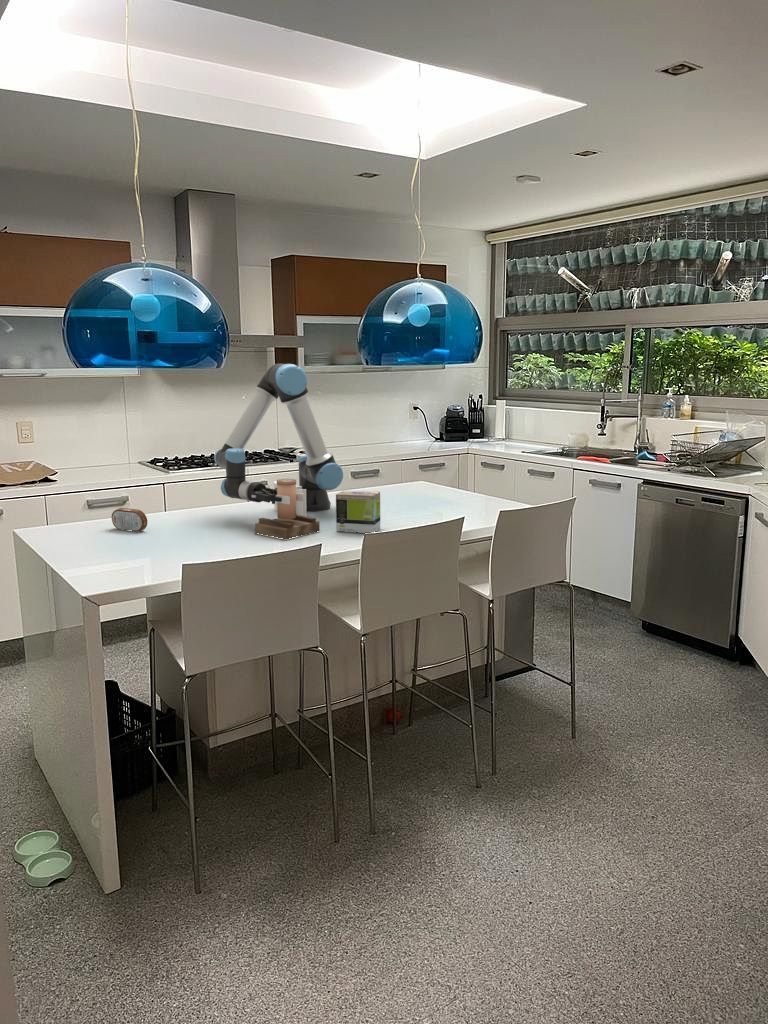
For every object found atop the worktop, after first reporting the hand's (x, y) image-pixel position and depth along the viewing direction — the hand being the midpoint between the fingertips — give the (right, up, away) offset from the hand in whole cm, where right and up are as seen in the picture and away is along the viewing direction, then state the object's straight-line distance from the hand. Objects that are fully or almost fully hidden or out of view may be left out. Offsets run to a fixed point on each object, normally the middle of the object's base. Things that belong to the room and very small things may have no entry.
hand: (296, 499), depth 295 cm
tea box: (+23, -12, +11) cm, 28 cm away
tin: (-64, -12, +8) cm, 66 cm away
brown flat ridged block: (-4, -13, +6) cm, 14 cm away
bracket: (-8, -6, +40) cm, 41 cm away
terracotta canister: (-4, -7, +4) cm, 9 cm away
